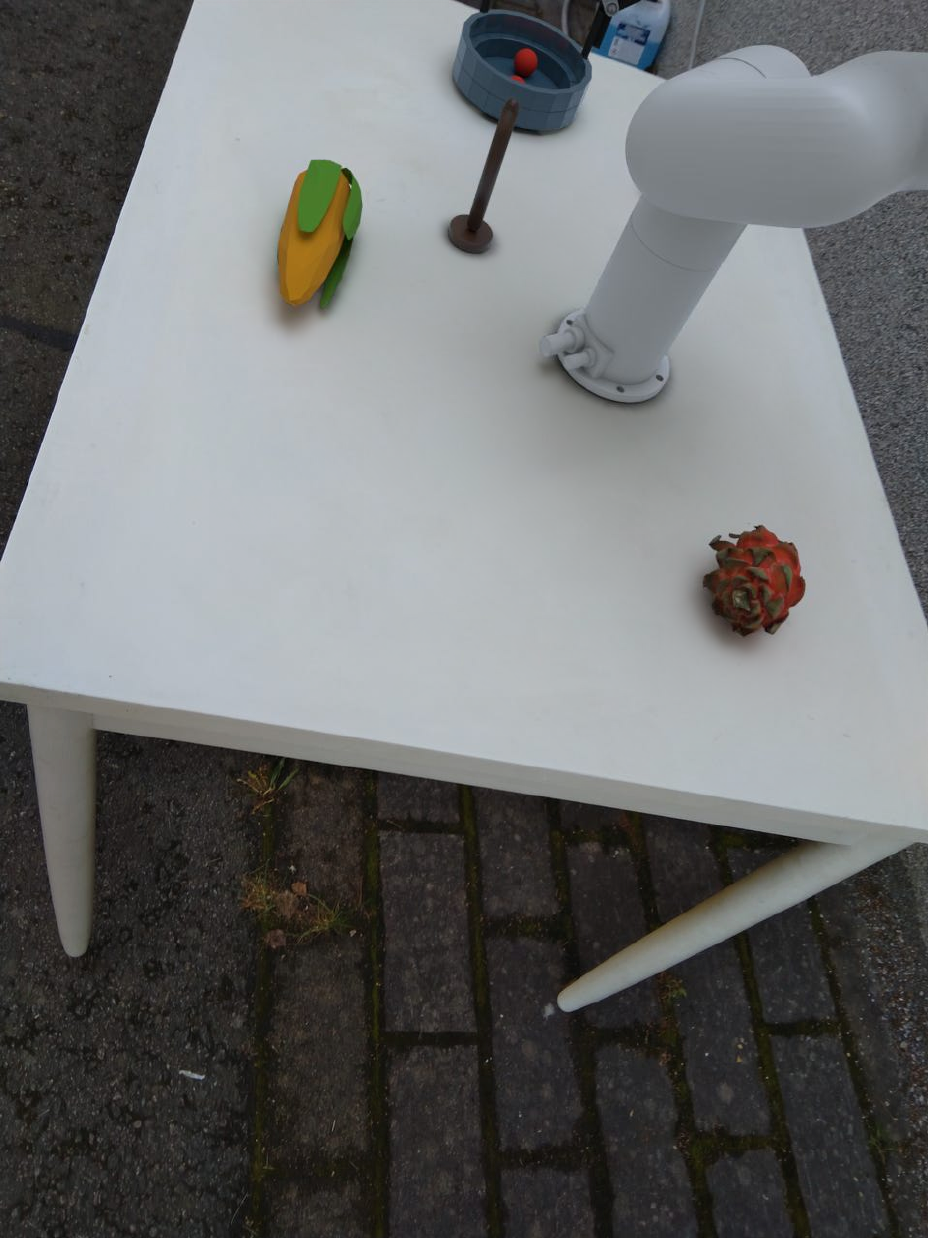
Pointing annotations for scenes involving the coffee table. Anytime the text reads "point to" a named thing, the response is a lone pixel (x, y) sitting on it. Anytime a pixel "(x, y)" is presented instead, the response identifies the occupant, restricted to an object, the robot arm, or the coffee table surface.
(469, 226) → the brown disc-base rod
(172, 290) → the coffee table surface
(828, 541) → the coffee table surface
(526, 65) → the tomato
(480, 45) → the bowl
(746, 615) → the dragon fruit
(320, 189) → the corn
